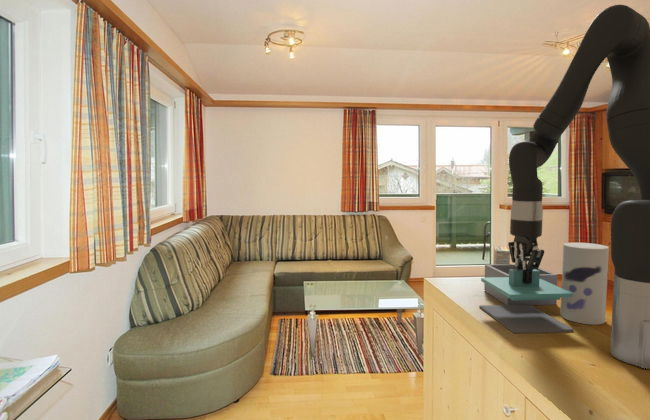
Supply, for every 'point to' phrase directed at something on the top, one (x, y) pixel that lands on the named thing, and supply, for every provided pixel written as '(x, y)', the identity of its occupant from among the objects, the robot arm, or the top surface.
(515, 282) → the lid
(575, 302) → the container
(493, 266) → the storage box
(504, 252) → the supplement box
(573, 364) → the top surface
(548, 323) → the mat
